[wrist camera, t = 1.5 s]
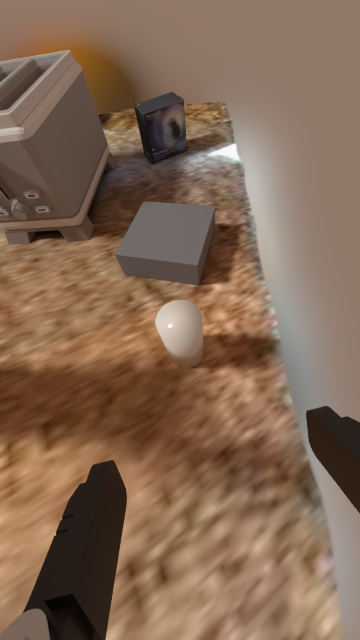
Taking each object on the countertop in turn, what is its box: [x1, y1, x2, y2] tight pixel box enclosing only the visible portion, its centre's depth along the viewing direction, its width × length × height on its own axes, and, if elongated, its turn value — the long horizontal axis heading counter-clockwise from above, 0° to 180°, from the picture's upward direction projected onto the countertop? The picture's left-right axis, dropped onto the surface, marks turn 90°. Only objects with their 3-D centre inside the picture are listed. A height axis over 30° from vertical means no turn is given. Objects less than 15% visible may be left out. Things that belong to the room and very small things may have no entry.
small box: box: [134, 92, 187, 164], centre depth 55 cm, size 11×6×10 cm, turn 118°
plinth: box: [115, 201, 215, 285], centre depth 39 cm, size 14×14×5 cm
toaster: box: [0, 50, 117, 244], centre depth 45 cm, size 19×34×20 cm, turn 177°
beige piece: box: [156, 300, 204, 368], centre depth 27 cm, size 5×5×10 cm
